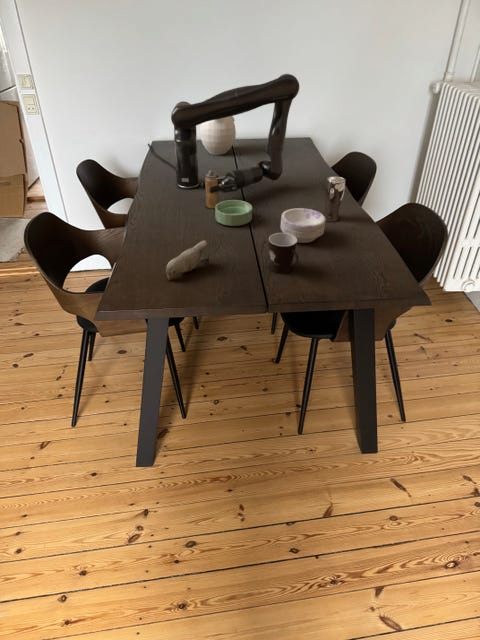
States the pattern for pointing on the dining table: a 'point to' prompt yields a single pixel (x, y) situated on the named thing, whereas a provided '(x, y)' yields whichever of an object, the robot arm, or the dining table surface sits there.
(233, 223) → the serving bowl
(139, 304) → the dining table surface
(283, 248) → the coffee mug
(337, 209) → the beer glass
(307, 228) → the paper bowls
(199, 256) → the decorative bird
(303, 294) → the dining table surface
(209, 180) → the pepper mill
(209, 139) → the pitcher
